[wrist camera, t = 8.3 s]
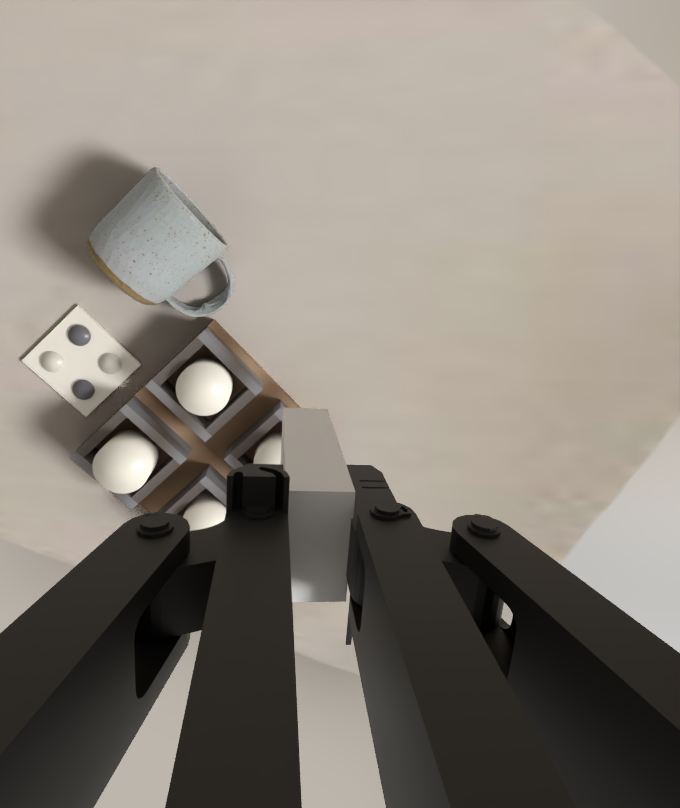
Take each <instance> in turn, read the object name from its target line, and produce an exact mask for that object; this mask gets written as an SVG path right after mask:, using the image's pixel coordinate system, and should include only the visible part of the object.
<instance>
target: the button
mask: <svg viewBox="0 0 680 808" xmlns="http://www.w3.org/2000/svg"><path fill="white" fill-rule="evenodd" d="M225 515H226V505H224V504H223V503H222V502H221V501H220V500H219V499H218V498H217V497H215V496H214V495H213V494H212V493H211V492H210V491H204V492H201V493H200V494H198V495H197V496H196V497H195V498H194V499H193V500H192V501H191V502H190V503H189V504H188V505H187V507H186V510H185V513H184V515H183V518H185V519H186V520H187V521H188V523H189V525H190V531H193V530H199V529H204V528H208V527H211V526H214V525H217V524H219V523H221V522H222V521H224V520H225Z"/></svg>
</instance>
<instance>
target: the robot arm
mask: <svg viewBox="0 0 680 808" xmlns="http://www.w3.org/2000/svg"><path fill="white" fill-rule="evenodd" d="M347 582H348V586H349V590H350V603H349V614H348V625H347V636H346V645H351V639H352V637H353V641H354V646H355V651H356V656H357V661H358V667H359V672H360V677H361V682H362V687H363V692H364V697H365V702H366V707H367V712H368V717H369V722H370V727H371V733H372V738H373V743H374V748H375V753H376V758H377V763H378V768H379V774H380V779H381V784H382V789H383V794H384V799H385V804H386V808H680V653H679V652H677V651H676V650H674V649H673V648H672V647H670V646H669V645H668V644H667V643H665V642H664V641H662V640H661V639H660V638H658V637H657V636H656V635H654V634H653V633H652V632H650V631H649V630H648V629H646V628H645V627H643V626H642V625H641V624H640V623H638V622H637V621H635V620H634V619H633V618H632V617H630V616H629V615H628V614H626V613H625V612H624V611H622V610H621V609H619V608H618V607H617V606H615V605H614V604H613V603H611V602H610V601H609V600H607V599H606V598H605V597H603V596H602V595H601V594H599V593H598V592H597V591H595V590H594V589H593V588H591V587H590V586H589V585H587V584H586V583H585V582H583V581H582V580H580V579H579V578H578V577H576V576H575V575H574V574H572V573H571V572H570V571H568V570H567V569H566V568H564V567H563V566H562V565H560V564H559V563H558V562H556V561H555V560H554V559H552V558H551V557H550V556H548V555H547V554H546V553H544V552H543V551H542V550H540V549H539V548H538V547H536V546H535V545H533V544H532V543H531V542H529V541H528V540H527V539H525V538H524V537H523V536H521V535H520V534H519V533H517V532H516V531H515V530H513V529H512V528H511V527H509V526H508V525H506V524H504V523H502V522H501V521H499V520H496V519H493V518H491V517H489V516H485V515H483V516H482V515H479V514H475V515H464V516H461V517H457V518H456V519H455V520H454V521H453V524H452V531H451V532H445V531H439V530H434V529H430V528H425V527H423V526H422V524H421V523H420V521H419V519H418V517H417V515H416V514H415V512H414V511H413V510H412V509H411V508H409V507H407V506H405V505H403V504H400V503H397V502H396V500H395V498H394V496H393V494H392V492H391V490H390V489H389V486H388V484H387V482H386V480H385V478H384V476H383V474H382V472H380V471H379V470H377V469H376V468H374V467H373V466H371V465H346V463H345V460H344V457H343V454H342V451H341V448H340V445H339V442H338V439H337V436H336V433H335V430H334V427H333V424H332V422H331V419H330V416H329V413H328V410H327V409H306V408H283V418H282V440H281V461H280V464H246V465H245V466H243V467H238V468H236V469H234V470H232V471H230V472H229V474H228V475H227V495H226V515H225V520H224V521H222V522H221V523H219V524H217V525H214V526H211V527H208V528H204V529H199V530H193V531H190V525H189V523H188V521H187V520H186V519H185V518H183V517H181V516H179V515H175V514H171V513H162V512H153V513H147V514H144V515H141V516H138V517H135V518H132V519H131V520H129V521H127V522H126V523H124V524H123V525H122V526H121V527H119V528H118V529H117V530H116V531H115V532H114V533H113V534H112V535H110V536H109V537H108V538H107V539H106V540H105V541H104V542H103V543H101V544H100V545H99V546H98V547H97V548H96V549H95V550H94V551H92V552H91V553H90V554H89V555H88V556H87V557H86V558H85V559H83V560H82V561H81V562H80V563H79V564H78V565H77V566H76V567H74V568H73V569H72V570H71V571H70V572H69V573H68V574H67V575H66V576H65V577H63V578H62V579H61V580H60V581H59V582H58V583H57V584H56V585H54V586H53V587H52V588H51V589H50V590H49V591H48V592H46V593H45V594H44V595H43V596H42V597H41V598H40V599H39V600H37V601H36V602H35V603H34V604H33V605H32V606H31V607H30V608H28V609H27V610H26V611H25V612H24V613H23V614H22V615H21V616H19V617H18V618H17V619H16V620H15V621H14V622H13V623H12V624H10V625H9V626H8V627H7V628H6V629H5V630H4V631H3V632H1V633H0V808H93V807H94V806H95V804H96V802H97V801H98V799H99V797H100V795H101V794H102V792H103V790H104V788H105V787H106V785H107V783H108V782H109V780H110V778H111V777H112V775H113V773H114V771H115V770H116V768H117V766H118V765H119V763H120V761H121V759H122V757H123V756H124V754H125V753H126V751H127V749H128V747H129V746H130V744H131V742H132V740H133V739H134V737H135V735H136V734H137V732H138V730H139V728H140V727H141V725H142V723H143V722H144V720H145V718H146V716H147V715H148V713H149V711H150V710H151V708H152V706H153V704H154V703H155V701H156V699H157V698H158V696H159V694H160V692H161V691H162V689H163V687H164V685H165V684H166V682H167V680H168V679H169V677H170V675H171V673H172V672H173V670H174V668H175V666H176V665H177V663H178V661H179V660H180V658H181V656H182V654H183V653H184V651H185V649H186V648H187V646H188V642H189V639H190V633H191V632H195V631H199V630H202V632H201V637H200V641H199V646H198V651H197V657H196V661H195V666H194V671H193V675H192V680H191V685H190V691H189V695H188V700H187V705H186V709H185V715H184V719H183V724H182V729H181V734H180V739H179V744H178V748H177V753H176V758H175V763H174V768H173V773H172V778H171V783H170V788H169V792H168V797H167V802H166V807H165V808H302V807H301V785H300V763H299V743H298V742H299V741H298V721H297V698H296V675H295V655H294V632H293V610H292V602H336V601H346V594H347ZM504 602H505V603H506V604H507V605H508V607H509V608H510V609H511V611H512V613H513V619H512V623H511V625H508V624H507V623H506V622H505V621H504V620H503V619H502V618H501V615H502V609H503V604H504Z"/></svg>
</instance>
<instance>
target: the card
mask: <svg viewBox="0 0 680 808" xmlns="http://www.w3.org/2000/svg"><path fill="white" fill-rule="evenodd" d="M22 362H23V363H24V364H26V365H27V366H28V367H29V368H30V369H31V370H33V371H34V372H35V373H36V374H37V375H38V376H39V377H41V378H42V379H43V380H44V381H45V382H46V383H47V384H49V385H50V386H51V387H52V388H53V389H54V390H55V391H57V392H58V393H59V394H60V395H61V396H62V397H63V398H65V399H66V400H67V401H68V402H69V403H70V404H72V405H73V406H74V407H75V408H76V409H77V410H78V411H80V412H81V413H82V414H83V415H84V416H85V417H87V416H88V415H89V414H90V413H91V412H92V411H93V410H94V409H95V408H96V407H97V406H98V405H99V404H100V403H102V402H103V401H104V400H105V399H106V398H107V397H108V396H109V395H110V394H111V393H112V392H113V391H114V390H115V389H116V388H117V387H118V386H119V385H120V384H121V383H123V382H124V381H125V380H126V379H127V378H128V377H129V376H130V375H131V374H132V373H133V372H134V371H135V370H136V369H137V368H138V367H139V366H140V365H141V363H140V362H139V361H138V360H137V359H136V358H135V357H134V356H133V355H132V354H130V353H129V352H128V351H127V350H126V349H125V348H124V347H123V346H122V345H121V344H120V343H119V342H118V341H117V340H116V339H115V338H113V337H112V336H111V335H110V334H109V333H108V332H107V331H106V330H105V329H104V328H103V327H102V326H101V325H100V324H99V323H98V322H96V321H95V320H94V319H93V318H92V317H91V316H90V315H89V314H88V313H87V312H86V311H85V310H84V309H83V308H82V307H81V306H79V305H78V306H77V307H76V308H75V309H74V310H73V311H71V312H70V313H69V314H68V315H67V316H66V317H65V318H64V319H63V320H62V321H61V322H60V323H59V324H58V325H57V326H56V327H55V328H54V329H53V330H52V331H51V332H50V333H49V334H48V335H47V336H46V337H45V338H44V339H43V340H42V341H41V342H40V343H39V344H38V345H37V346H36V347H35V348H34V349H33V350H32V351H31V352H30V353H29V354H28V355H27V356H26V357H25V358H24V359H23V360H22Z"/></svg>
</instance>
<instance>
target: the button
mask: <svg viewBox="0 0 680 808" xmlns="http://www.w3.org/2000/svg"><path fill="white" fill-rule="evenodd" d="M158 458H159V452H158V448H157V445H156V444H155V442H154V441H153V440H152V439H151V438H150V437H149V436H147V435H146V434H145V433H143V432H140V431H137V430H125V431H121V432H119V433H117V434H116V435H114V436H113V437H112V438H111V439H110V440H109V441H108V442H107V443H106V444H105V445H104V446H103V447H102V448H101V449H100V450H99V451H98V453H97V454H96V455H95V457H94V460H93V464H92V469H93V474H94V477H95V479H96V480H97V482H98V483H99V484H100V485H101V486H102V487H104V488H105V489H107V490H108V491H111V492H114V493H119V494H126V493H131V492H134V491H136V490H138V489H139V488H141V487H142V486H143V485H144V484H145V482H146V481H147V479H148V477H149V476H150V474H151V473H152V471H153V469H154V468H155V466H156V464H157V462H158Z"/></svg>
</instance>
